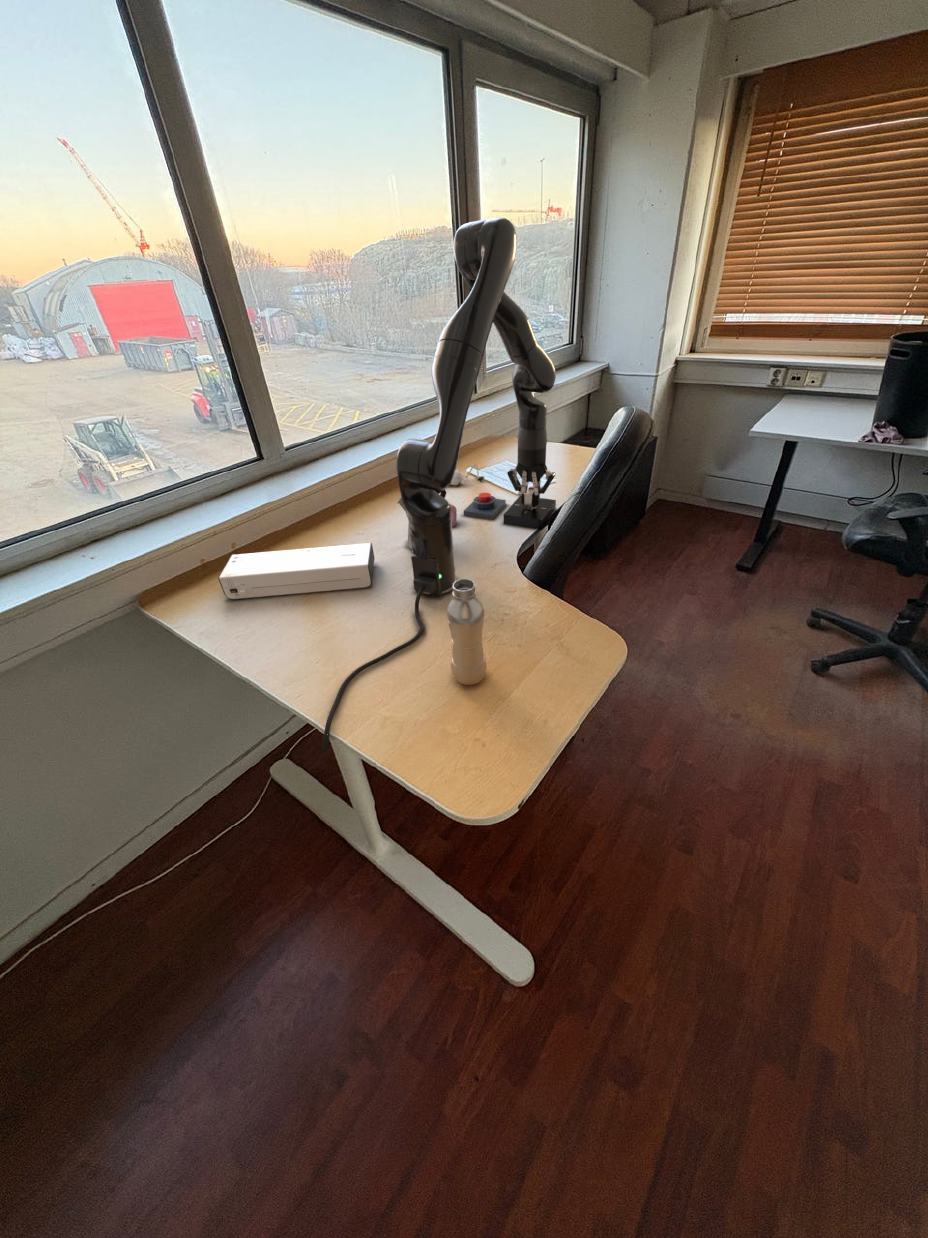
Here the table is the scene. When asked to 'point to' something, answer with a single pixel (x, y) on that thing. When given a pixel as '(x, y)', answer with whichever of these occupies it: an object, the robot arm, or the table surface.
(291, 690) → the table surface
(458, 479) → the clip-on lamp
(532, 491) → the beige rectangular block
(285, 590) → the laminator
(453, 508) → the video game controller
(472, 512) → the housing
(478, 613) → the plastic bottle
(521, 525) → the hob panel
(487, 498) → the button
